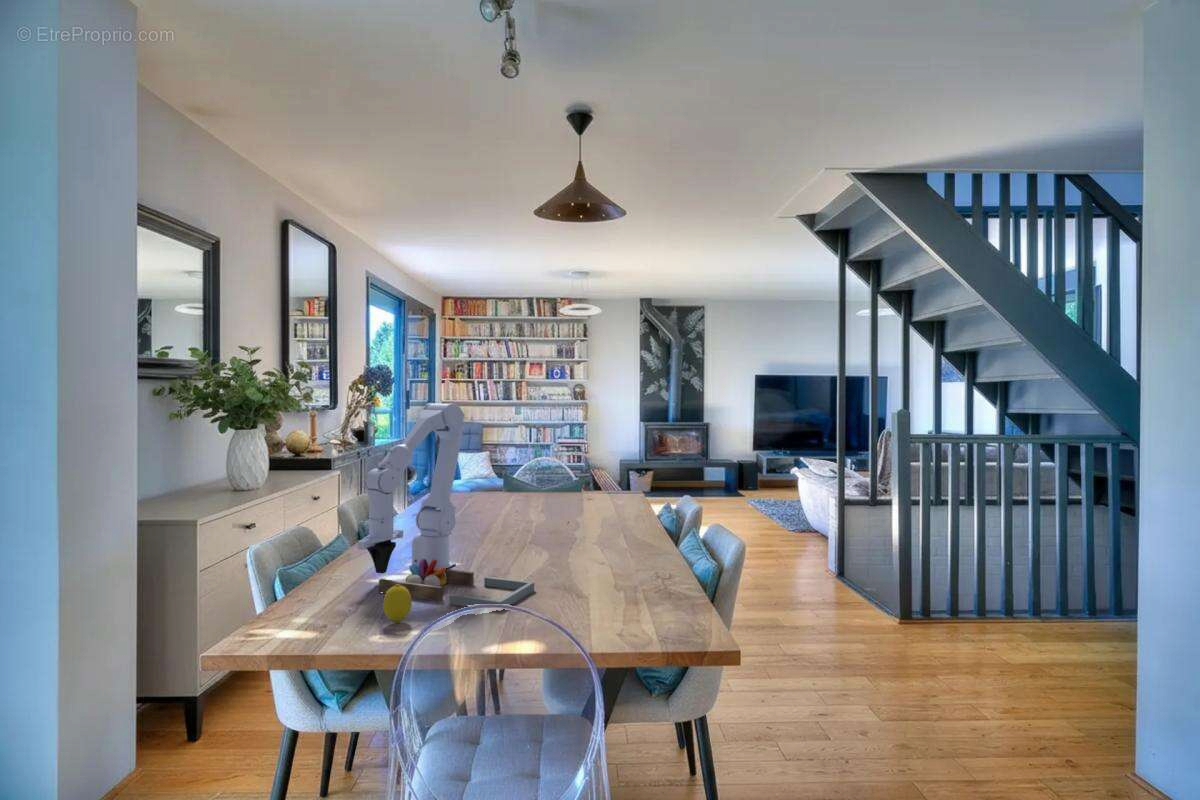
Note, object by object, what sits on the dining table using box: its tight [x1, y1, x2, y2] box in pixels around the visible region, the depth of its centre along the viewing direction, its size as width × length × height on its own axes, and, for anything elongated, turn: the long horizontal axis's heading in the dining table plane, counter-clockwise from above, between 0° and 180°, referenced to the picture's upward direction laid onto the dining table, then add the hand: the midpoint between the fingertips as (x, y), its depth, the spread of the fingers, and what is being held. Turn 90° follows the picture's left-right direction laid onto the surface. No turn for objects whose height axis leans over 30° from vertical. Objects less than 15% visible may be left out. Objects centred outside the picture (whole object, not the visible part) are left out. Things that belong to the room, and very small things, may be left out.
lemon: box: [382, 584, 413, 624], centre depth 135 cm, size 6×6×8 cm
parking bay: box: [448, 576, 535, 607], centre depth 152 cm, size 13×16×2 cm
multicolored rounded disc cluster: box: [405, 558, 447, 587], centre depth 159 cm, size 8×10×7 cm
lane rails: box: [378, 568, 475, 602], centre depth 158 cm, size 17×14×3 cm
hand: (381, 572), depth 163 cm, fingers closed
